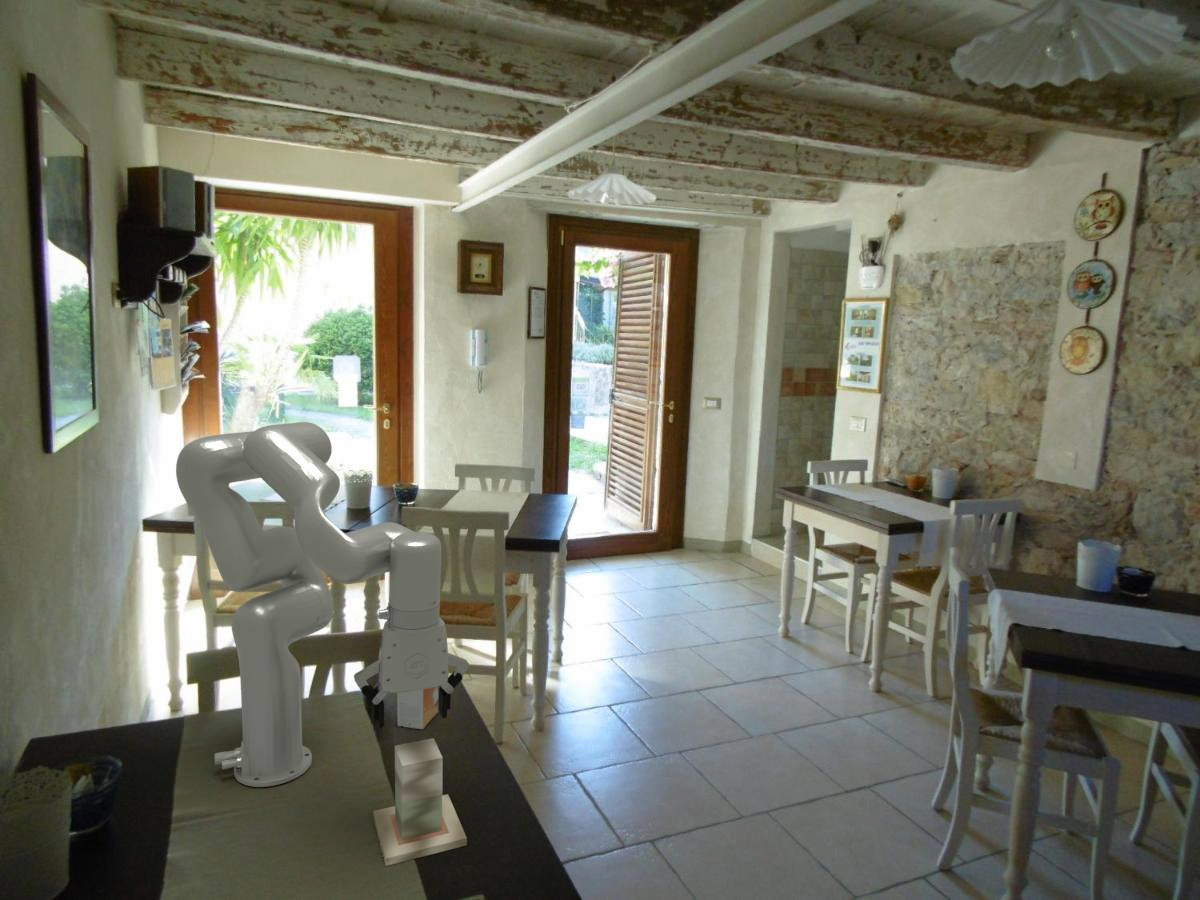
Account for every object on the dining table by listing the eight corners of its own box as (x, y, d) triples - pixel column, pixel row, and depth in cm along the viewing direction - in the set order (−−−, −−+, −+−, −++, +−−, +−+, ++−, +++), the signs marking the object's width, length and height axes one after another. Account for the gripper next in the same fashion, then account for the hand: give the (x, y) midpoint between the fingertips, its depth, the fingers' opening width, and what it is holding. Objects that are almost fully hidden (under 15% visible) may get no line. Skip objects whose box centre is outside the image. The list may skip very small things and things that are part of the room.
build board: (385, 866, 109) (385, 857, 108) (373, 817, 119) (373, 810, 119) (466, 845, 114) (466, 837, 114) (447, 800, 124) (448, 793, 124)
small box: (423, 730, 146) (423, 679, 145) (396, 726, 148) (396, 676, 146) (439, 711, 154) (439, 662, 153) (414, 707, 155) (414, 659, 154)
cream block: (402, 803, 112) (402, 765, 111) (395, 781, 117) (394, 745, 116) (442, 794, 114) (442, 757, 113) (433, 773, 120) (433, 738, 119)
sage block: (402, 840, 112) (401, 803, 112) (395, 816, 118) (395, 781, 117) (441, 830, 115) (441, 794, 114) (433, 808, 120) (433, 773, 119)
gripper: (358, 630, 107) (356, 740, 110) (476, 617, 114) (472, 721, 117) (352, 611, 114) (350, 715, 116) (464, 600, 121) (460, 699, 124)
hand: (411, 718), depth 117 cm, fingers open, 9 cm apart
